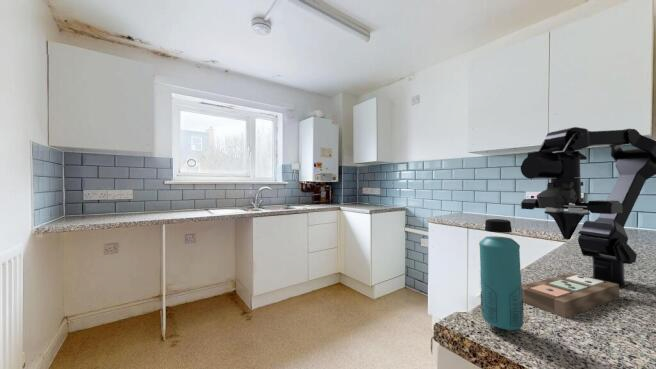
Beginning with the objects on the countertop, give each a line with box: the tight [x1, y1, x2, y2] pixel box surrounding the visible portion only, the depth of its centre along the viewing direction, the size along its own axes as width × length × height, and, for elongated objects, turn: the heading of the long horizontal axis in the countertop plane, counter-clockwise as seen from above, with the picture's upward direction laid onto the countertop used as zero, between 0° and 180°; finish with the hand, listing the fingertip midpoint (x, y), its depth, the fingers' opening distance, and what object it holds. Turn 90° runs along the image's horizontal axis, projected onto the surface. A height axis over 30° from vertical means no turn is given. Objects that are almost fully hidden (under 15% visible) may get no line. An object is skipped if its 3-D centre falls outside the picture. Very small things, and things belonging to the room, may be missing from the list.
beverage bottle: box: [478, 218, 525, 331], centre depth 48 cm, size 6×7×20 cm
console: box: [521, 272, 620, 319], centre depth 60 cm, size 22×9×3 cm, turn 113°
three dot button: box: [549, 280, 588, 292], centre depth 60 cm, size 5×5×3 cm
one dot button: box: [530, 284, 570, 298], centre depth 57 cm, size 5×5×3 cm
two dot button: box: [566, 274, 604, 287], centre depth 63 cm, size 5×5×3 cm
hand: (567, 239), depth 67 cm, fingers closed
